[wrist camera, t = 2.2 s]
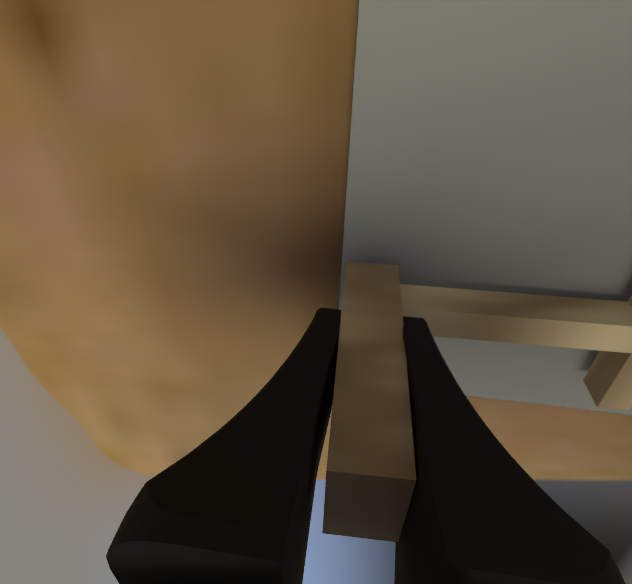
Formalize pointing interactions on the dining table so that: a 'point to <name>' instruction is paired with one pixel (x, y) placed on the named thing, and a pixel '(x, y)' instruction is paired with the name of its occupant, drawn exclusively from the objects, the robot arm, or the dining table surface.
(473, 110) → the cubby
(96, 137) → the dining table surface
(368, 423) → the rake
